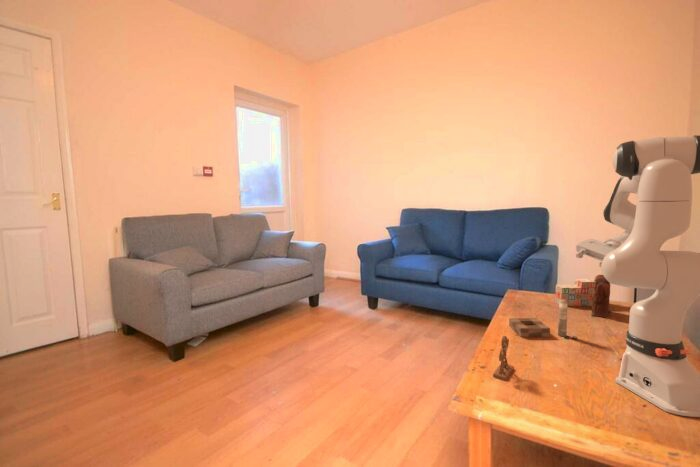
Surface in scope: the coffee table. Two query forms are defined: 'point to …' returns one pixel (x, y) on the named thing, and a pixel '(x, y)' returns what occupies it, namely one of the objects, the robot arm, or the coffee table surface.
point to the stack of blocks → (576, 292)
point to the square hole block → (529, 327)
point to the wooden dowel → (562, 318)
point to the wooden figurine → (600, 296)
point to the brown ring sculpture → (503, 362)
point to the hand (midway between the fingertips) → (589, 260)
